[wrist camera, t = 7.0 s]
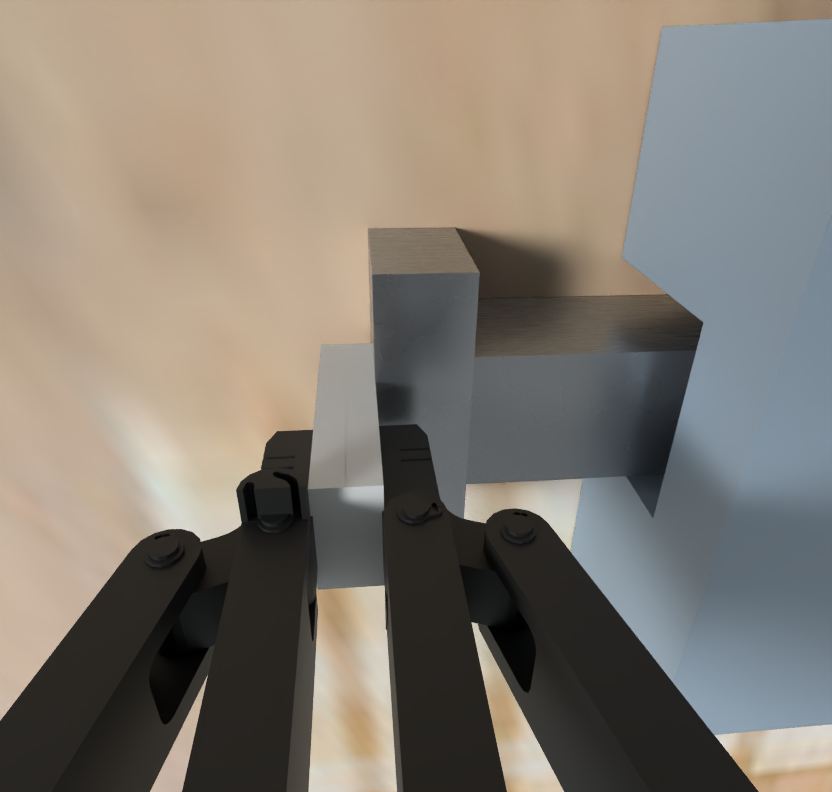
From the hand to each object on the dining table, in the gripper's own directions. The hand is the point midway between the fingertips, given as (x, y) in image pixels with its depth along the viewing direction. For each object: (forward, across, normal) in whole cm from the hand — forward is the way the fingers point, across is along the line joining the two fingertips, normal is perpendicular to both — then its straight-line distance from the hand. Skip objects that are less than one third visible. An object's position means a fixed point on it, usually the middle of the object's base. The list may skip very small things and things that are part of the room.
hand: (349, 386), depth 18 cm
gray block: (+2, +7, 0) cm, 7 cm away
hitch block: (+2, +12, 0) cm, 12 cm away
